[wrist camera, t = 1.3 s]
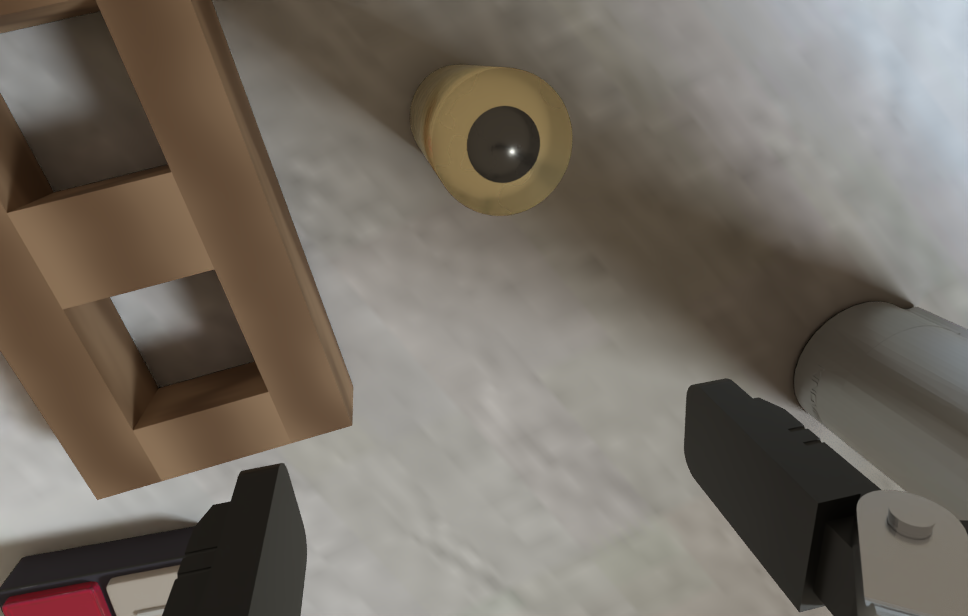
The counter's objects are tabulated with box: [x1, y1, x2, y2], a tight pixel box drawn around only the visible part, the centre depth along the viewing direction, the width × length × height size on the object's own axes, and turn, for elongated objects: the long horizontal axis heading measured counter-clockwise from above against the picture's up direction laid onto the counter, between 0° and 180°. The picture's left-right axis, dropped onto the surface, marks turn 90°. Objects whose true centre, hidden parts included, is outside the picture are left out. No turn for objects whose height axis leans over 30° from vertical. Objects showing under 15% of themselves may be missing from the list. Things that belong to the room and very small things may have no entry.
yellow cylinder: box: [410, 64, 572, 216], centre depth 25 cm, size 5×5×10 cm
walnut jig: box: [0, 0, 353, 500], centre depth 27 cm, size 13×24×4 cm, turn 12°
